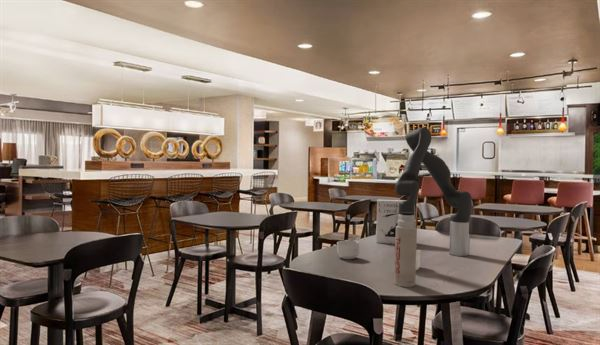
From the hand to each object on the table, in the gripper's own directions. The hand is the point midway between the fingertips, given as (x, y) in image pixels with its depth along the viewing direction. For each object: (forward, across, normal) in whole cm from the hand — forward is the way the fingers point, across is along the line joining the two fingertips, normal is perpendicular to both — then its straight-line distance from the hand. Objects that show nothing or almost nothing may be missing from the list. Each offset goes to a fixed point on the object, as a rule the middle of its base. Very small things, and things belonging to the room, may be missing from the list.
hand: (405, 260), depth 206 cm
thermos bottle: (+3, +30, +5) cm, 30 cm away
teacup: (+3, -7, -29) cm, 30 cm away
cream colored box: (+3, 0, +3) cm, 4 cm away
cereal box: (+3, -61, -16) cm, 63 cm away
